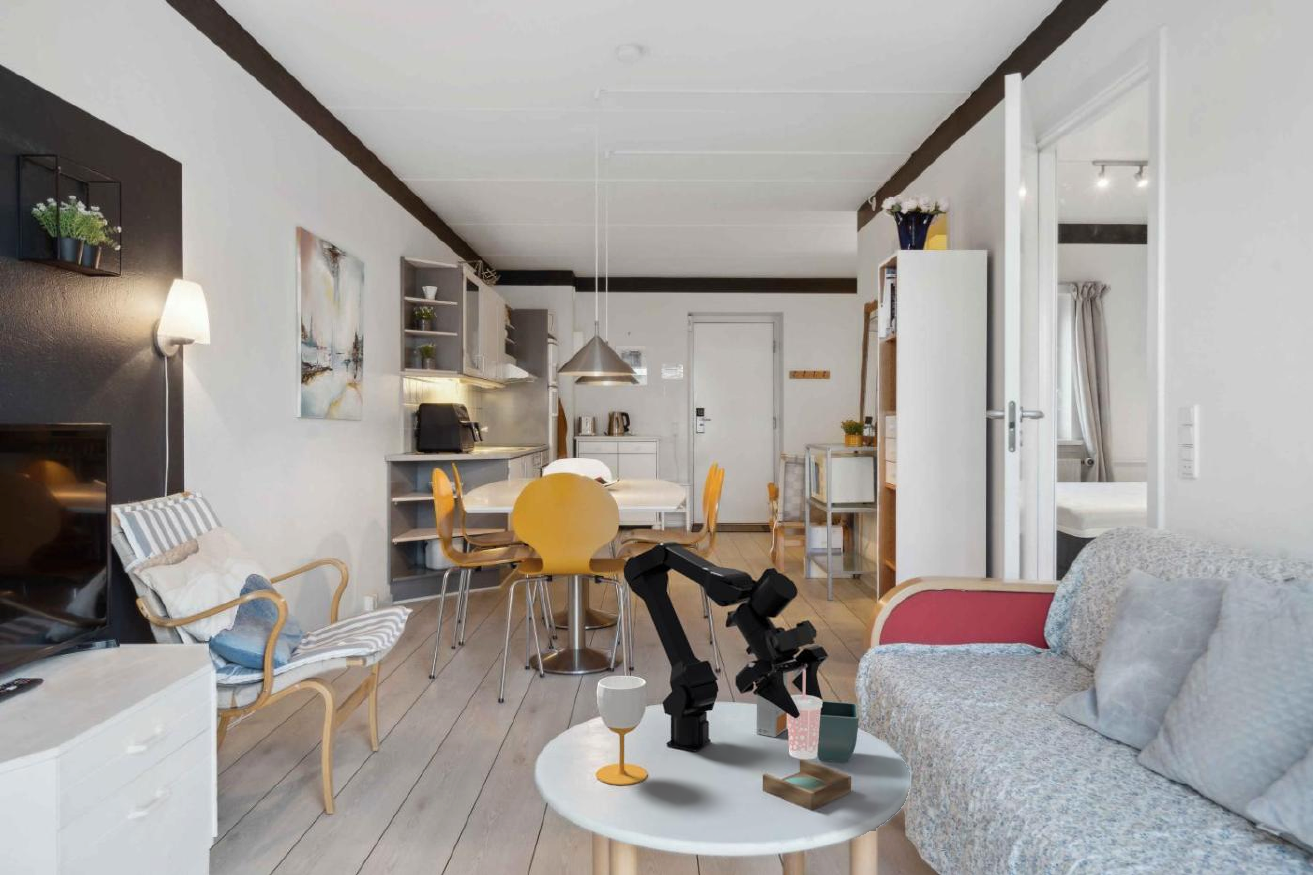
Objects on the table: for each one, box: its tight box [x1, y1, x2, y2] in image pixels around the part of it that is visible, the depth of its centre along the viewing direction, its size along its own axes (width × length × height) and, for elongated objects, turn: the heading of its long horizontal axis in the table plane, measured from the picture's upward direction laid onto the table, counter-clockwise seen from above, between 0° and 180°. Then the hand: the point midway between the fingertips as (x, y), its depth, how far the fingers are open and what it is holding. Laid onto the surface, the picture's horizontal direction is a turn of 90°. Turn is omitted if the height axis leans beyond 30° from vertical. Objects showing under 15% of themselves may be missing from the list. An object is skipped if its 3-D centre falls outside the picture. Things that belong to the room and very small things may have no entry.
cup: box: [595, 675, 649, 786], centre depth 141 cm, size 9×9×16 cm
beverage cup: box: [787, 669, 823, 761], centre depth 135 cm, size 6×6×14 cm
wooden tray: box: [762, 759, 852, 811], centre depth 135 cm, size 10×11×3 cm
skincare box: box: [755, 672, 788, 738], centre depth 163 cm, size 6×4×12 cm
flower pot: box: [817, 700, 860, 763], centre depth 150 cm, size 9×9×9 cm
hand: (810, 712), depth 134 cm, fingers closed on beverage cup, 6 cm apart
